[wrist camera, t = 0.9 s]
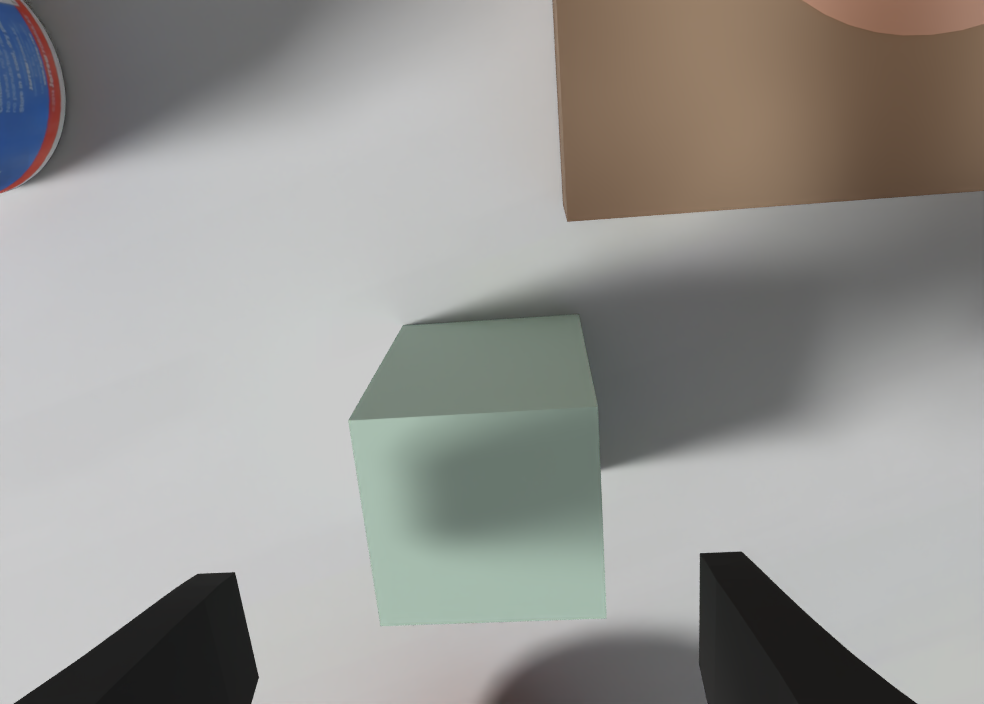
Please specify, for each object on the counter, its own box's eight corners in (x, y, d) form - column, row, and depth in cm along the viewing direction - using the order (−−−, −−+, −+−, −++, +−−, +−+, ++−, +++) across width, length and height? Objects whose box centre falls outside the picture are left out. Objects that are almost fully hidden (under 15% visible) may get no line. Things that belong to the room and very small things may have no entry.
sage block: (578, 314, 19) (597, 406, 13) (586, 473, 20) (606, 618, 15) (403, 325, 19) (348, 420, 14) (422, 480, 21) (380, 625, 15)
